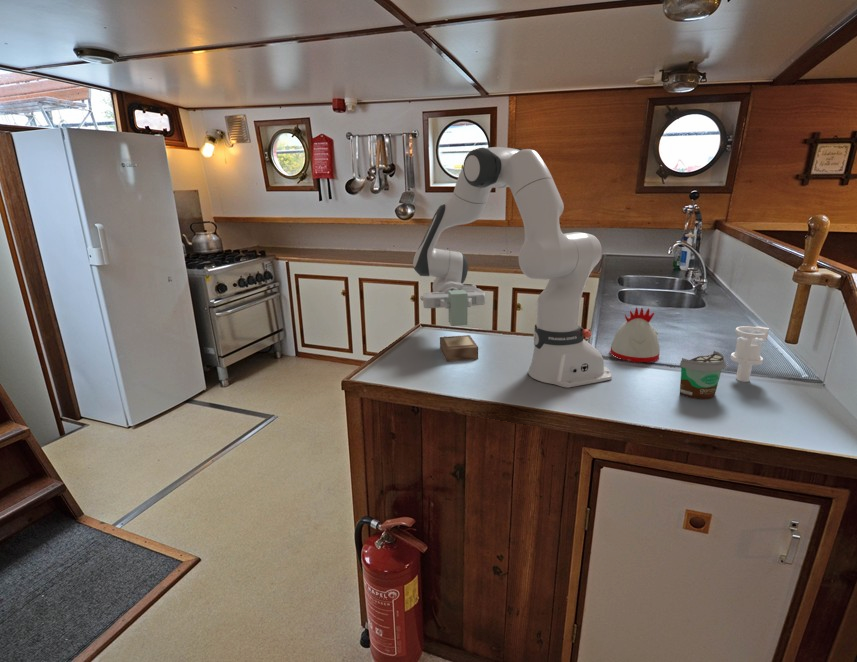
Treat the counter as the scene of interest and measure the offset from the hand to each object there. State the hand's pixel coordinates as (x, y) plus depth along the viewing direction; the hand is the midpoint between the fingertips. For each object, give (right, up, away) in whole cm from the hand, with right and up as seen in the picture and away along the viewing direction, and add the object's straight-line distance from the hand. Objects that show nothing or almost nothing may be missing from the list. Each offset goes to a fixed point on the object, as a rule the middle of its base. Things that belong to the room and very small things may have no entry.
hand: (458, 305), depth 146 cm
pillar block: (0, -5, +3) cm, 6 cm away
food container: (+60, -24, -27) cm, 70 cm away
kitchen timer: (+54, -15, +1) cm, 57 cm away
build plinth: (0, -15, +6) cm, 16 cm away
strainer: (+75, -21, -19) cm, 80 cm away
